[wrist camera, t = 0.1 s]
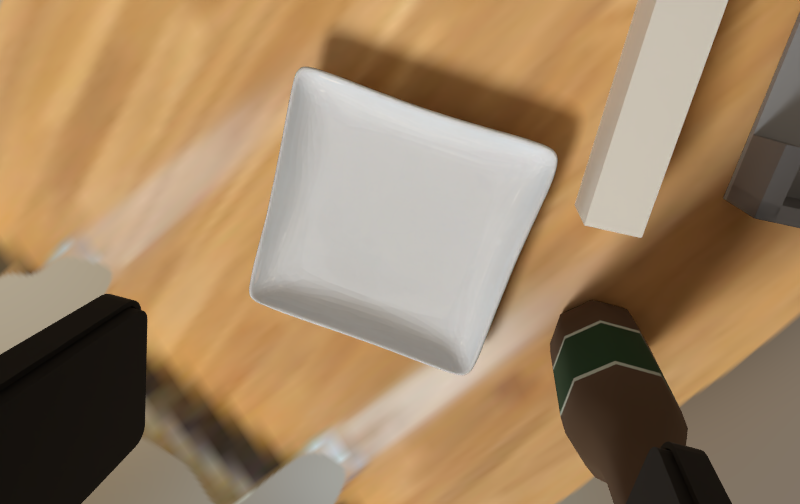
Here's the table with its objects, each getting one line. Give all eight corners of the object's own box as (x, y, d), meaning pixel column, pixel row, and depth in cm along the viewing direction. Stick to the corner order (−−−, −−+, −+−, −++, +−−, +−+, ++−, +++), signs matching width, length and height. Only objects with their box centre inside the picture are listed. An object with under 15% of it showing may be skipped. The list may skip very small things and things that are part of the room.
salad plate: (471, 363, 51) (469, 383, 48) (259, 286, 52) (243, 301, 49) (561, 144, 43) (565, 151, 40) (309, 61, 45) (294, 61, 41)
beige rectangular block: (640, -11, 39) (663, -23, 33) (699, -1, 38) (732, -11, 33) (574, 204, 44) (584, 225, 39) (624, 215, 44) (641, 238, 38)
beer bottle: (663, 332, 46) (810, 586, 24) (599, 392, 49) (677, 668, 27) (590, 279, 46) (671, 487, 24) (529, 342, 49) (552, 580, 27)
